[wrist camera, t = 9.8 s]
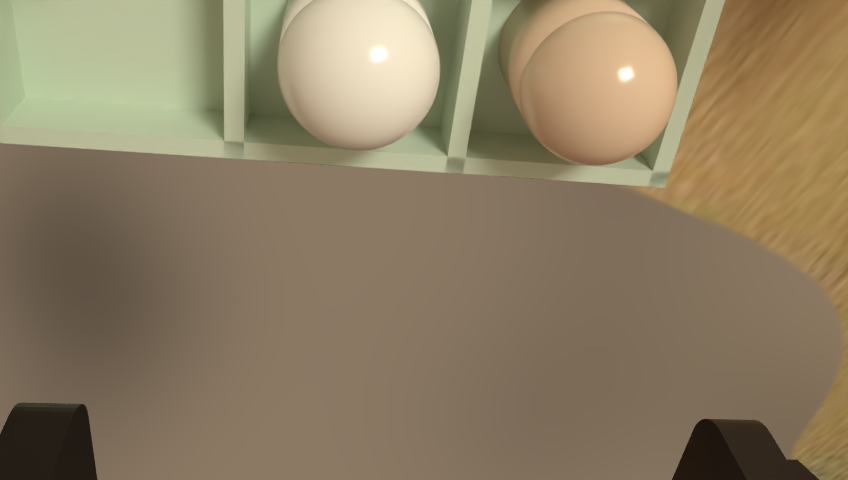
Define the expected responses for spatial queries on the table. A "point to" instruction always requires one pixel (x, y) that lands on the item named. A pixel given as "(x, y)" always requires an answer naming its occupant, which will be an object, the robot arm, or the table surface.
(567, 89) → the brown egg
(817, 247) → the table surface
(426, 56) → the cream capsule
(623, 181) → the egg tray
